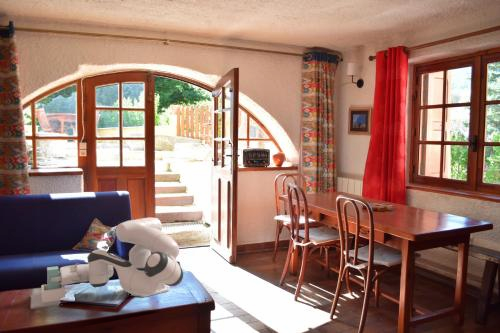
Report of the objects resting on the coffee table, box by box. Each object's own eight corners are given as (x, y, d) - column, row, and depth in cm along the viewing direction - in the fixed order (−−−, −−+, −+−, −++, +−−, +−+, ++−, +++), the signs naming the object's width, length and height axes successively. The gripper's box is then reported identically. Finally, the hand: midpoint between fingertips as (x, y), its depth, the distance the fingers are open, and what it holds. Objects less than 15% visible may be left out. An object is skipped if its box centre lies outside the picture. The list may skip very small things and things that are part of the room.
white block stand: (73, 290, 225) (72, 278, 225) (76, 302, 209) (75, 289, 209) (31, 296, 216) (30, 284, 216) (30, 309, 200) (30, 295, 200)
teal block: (58, 294, 216) (58, 266, 215) (58, 298, 211) (58, 269, 210) (47, 296, 213) (47, 267, 212) (47, 299, 209) (47, 270, 208)
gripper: (82, 285, 209) (51, 290, 202) (78, 273, 227) (50, 277, 221) (82, 273, 208) (51, 277, 202) (78, 262, 226) (49, 265, 220)
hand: (50, 277), depth 211 cm, fingers open, 6 cm apart
